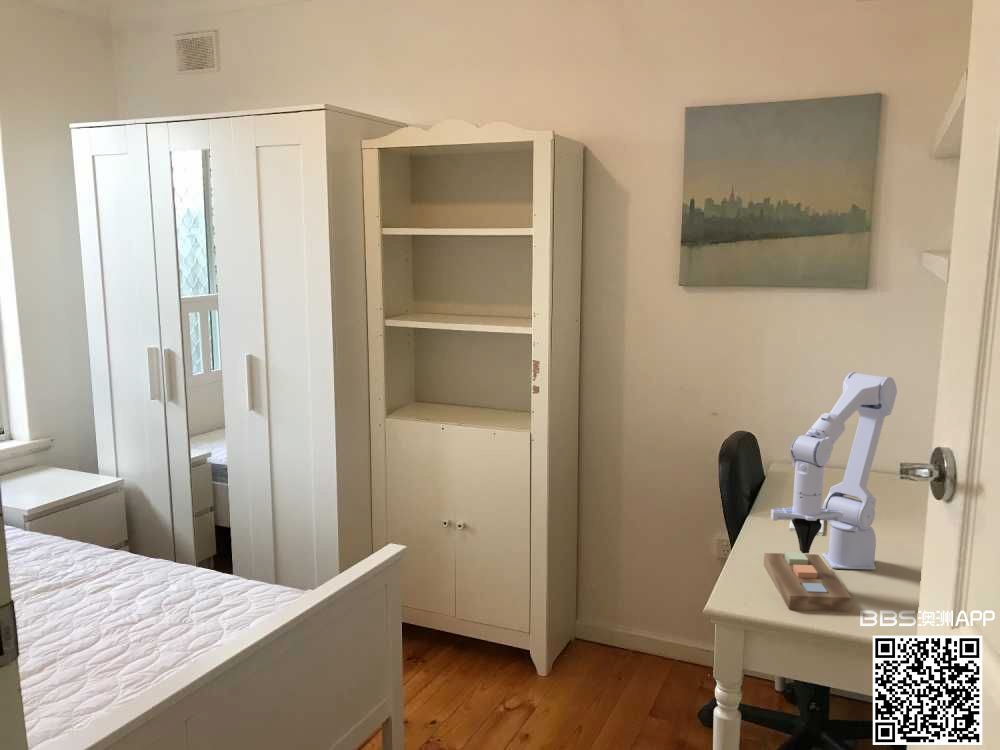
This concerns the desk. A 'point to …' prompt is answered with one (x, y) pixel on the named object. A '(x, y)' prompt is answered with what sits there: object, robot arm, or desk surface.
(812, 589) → the slate button
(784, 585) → the button panel
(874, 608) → the desk surface
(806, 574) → the terracotta button
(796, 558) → the sage button
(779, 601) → the desk surface
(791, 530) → the hard drive
